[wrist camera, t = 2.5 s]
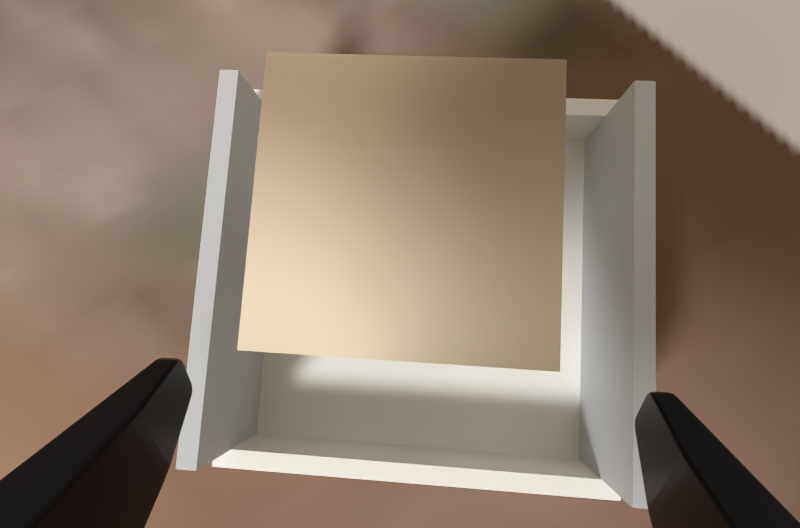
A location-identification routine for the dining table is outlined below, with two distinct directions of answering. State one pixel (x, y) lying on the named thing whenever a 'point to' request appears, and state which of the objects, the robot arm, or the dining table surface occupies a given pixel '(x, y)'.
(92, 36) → the dining table surface
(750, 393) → the dining table surface
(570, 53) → the dining table surface
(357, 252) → the birch block
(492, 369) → the white open box
